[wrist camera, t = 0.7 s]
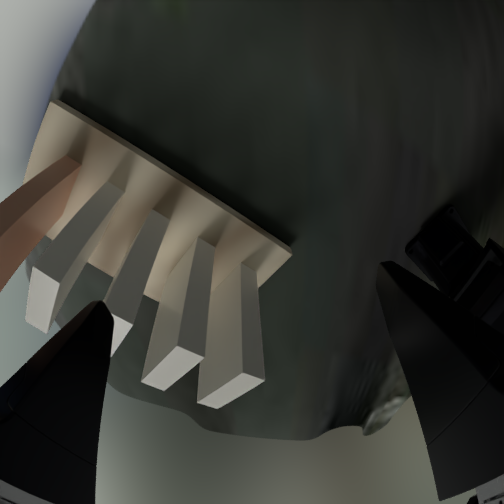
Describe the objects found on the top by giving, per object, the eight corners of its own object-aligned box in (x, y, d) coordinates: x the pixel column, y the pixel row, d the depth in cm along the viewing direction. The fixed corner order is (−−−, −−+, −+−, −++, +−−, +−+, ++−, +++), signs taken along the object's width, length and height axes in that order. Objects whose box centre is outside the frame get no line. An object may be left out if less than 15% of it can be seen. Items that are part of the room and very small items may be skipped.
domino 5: (256, 271, 24) (265, 380, 16) (221, 307, 26) (217, 408, 18) (240, 262, 23) (242, 372, 15) (206, 299, 25) (196, 402, 17)
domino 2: (124, 192, 19) (60, 283, 11) (100, 239, 21) (47, 334, 13) (107, 181, 19) (33, 266, 11) (85, 230, 21) (25, 320, 13)
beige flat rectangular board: (290, 247, 24) (292, 254, 23) (214, 321, 29) (214, 329, 28) (57, 99, 16) (50, 101, 15) (21, 209, 20) (16, 214, 19)
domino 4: (215, 247, 22) (204, 357, 14) (182, 286, 25) (164, 390, 16) (197, 236, 22) (177, 345, 14) (166, 278, 24) (140, 381, 16)
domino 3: (170, 220, 21) (133, 324, 13) (141, 264, 23) (105, 365, 15) (152, 209, 20) (103, 308, 12) (125, 254, 22) (81, 353, 14)
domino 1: (81, 165, 18) (-3, 240, 10) (62, 215, 20) (-5, 299, 12) (65, 155, 17) (-24, 224, 9) (48, 206, 19) (-23, 285, 11)
